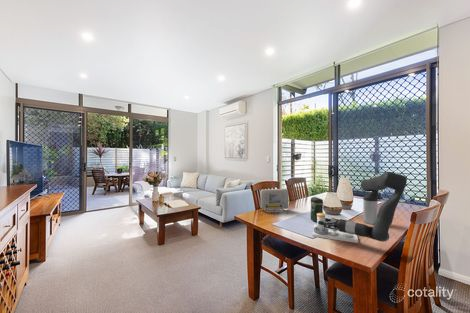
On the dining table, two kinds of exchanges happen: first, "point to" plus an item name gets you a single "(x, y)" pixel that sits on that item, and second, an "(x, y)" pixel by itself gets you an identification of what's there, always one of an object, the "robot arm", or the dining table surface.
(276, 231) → the dining table surface
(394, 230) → the dining table surface
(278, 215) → the dining table surface
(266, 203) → the network device
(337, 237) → the panel
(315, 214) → the coffee jar
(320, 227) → the post
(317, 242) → the dining table surface
